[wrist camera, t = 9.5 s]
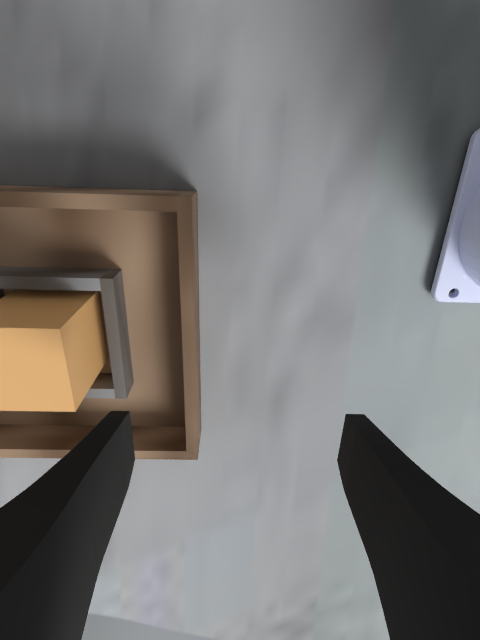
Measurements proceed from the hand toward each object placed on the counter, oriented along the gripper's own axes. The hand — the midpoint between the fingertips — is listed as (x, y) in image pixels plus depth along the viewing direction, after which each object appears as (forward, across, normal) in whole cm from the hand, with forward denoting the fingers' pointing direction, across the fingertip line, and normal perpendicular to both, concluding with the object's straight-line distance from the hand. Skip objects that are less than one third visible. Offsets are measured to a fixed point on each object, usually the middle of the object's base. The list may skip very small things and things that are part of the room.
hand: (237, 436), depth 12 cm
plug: (+8, +9, 0) cm, 12 cm away
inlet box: (+8, +9, 0) cm, 12 cm away
